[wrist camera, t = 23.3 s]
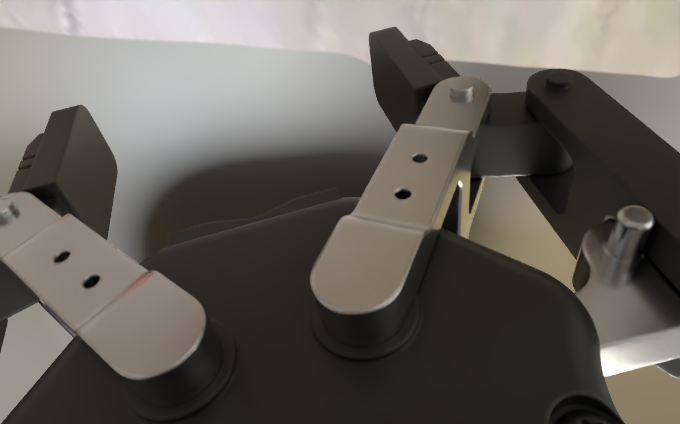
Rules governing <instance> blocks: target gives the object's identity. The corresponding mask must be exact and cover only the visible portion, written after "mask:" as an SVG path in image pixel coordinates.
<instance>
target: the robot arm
mask: <svg viewBox="0 0 680 424" xmlns="http://www.w3.org/2000/svg"><path fill="white" fill-rule="evenodd" d="M369 47H370V56H371V65H372V74H373V83H374V89H375V93H376V97H377V100H378V102H379V105H380V106H381V108H382V109H383V111H384V113H385V114H386V116H387V117H388V119H389V121H390V122H391V124H392V125H393V127H394V129H395V130H396V132H397V133H396V136H395V137H394V139H393V141H392V143H391V144H390V146H389V148H388V150H387V151H386V153H385V155H384V157H383V159H382V161H381V162H380V164H379V166H378V168H377V170H376V171H375V173H374V176H373V177H372V179H371V180H370V182H369V184H368V186H367V188H366V189H365V191H364V193H363V195H362V197H361V198H357V197H355V198H352V197H350V198H349V197H347V198H341V197H340V195H339V192H338V190H337V188H336V187H334V188H330V189H327V190H323V191H319V192H316V193H312V194H309V195H305V196H301V197H298V198H295V199H293V200H290V201H288V202H286V203H284V204H282V205H280V206H278V207H276V208H274V209H271V210H269V211H267V212H265V213H263V214H261V215H259V216H256V217H252V218H243V219H233V220H224V221H223V220H222V221H212V222H207V223H203V224H200V225H196V226H192V227H189V228H185V229H181V230H178V231H174V232H171V233H168V234H167V247H165V248H163V249H161V250H159V251H158V252H156V253H154V254H152V255H151V256H150V257H148V258H147V259H145V260H144V261H142V262H141V263H140V264H138V263H137V262H136V261H134V260H133V259H132V258H130V257H129V256H127V255H126V254H125V253H123V252H122V251H121V250H119V249H118V248H116V247H115V246H114V245H112V244H111V243H110V242H108V241H107V237H108V231H109V224H110V218H111V211H112V205H113V198H114V191H115V186H116V178H117V165H116V161H115V158H114V155H113V153H112V151H111V149H110V148H109V146H108V144H107V142H106V141H105V139H104V137H103V135H102V134H101V132H100V130H99V128H98V127H97V125H96V123H95V121H94V120H93V118H92V116H91V115H90V113H89V111H88V110H87V109H86V107H84V106H83V105H78V106H74V107H70V108H66V109H62V110H58V111H54V112H52V114H51V116H50V119H49V121H48V124H47V126H46V129H45V132H44V133H42V134H39V135H38V136H37V137H36V138H35V139H34V140H33V141H32V142H31V143H30V144H29V145H28V146H27V148H26V151H25V153H24V156H23V161H21V163H20V165H19V168H18V169H19V170H18V171H17V172H16V175H15V178H14V180H13V182H12V185H11V187H10V189H9V192H8V194H6V195H3V196H0V352H1V347H2V344H3V339H4V336H5V331H6V327H7V322H8V317H10V316H12V315H14V314H16V313H18V312H20V311H22V310H24V309H26V308H27V307H29V306H31V305H33V304H35V303H37V302H39V303H40V304H41V305H42V307H43V308H44V309H45V310H46V311H47V312H48V313H49V314H50V315H52V316H53V317H54V319H55V320H56V321H57V322H58V323H60V324H61V325H62V327H64V329H66V331H67V332H69V334H71V335H72V337H73V338H74V339H73V340H72V341H71V342H70V343H69V344H68V346H67V347H66V348H65V349H64V350H63V351H62V353H61V354H60V355H59V356H58V357H57V359H56V360H55V361H54V362H53V363H52V364H51V366H50V367H49V368H48V369H47V370H46V372H45V373H44V374H43V375H42V376H41V377H40V379H39V380H38V381H37V382H36V383H35V384H34V386H33V387H32V388H31V389H30V390H29V392H28V393H27V394H26V395H25V396H24V398H23V399H22V400H21V401H20V402H19V403H18V405H17V406H16V407H15V408H14V409H13V410H12V411H11V413H10V414H9V415H8V416H7V417H6V419H5V420H4V421H3V422H2V423H1V424H625V423H624V422H623V420H622V419H621V417H620V416H619V414H618V412H617V410H616V409H615V406H614V404H613V401H612V399H611V397H610V394H609V392H608V389H607V385H606V382H605V379H604V377H606V376H610V375H614V374H618V373H622V372H626V371H629V370H634V369H638V368H641V367H645V366H649V365H653V364H655V365H656V366H657V367H658V368H659V369H661V370H662V371H664V372H665V373H667V374H669V375H671V376H673V377H675V378H678V379H680V153H679V152H677V151H676V150H675V149H674V148H673V147H671V146H670V145H669V144H668V143H667V142H665V141H664V140H663V139H662V138H661V137H659V136H658V135H657V134H656V133H654V132H653V131H652V130H651V129H650V128H648V127H647V126H646V125H645V124H644V123H642V122H641V121H640V120H639V119H637V118H636V117H635V116H634V115H633V114H631V113H630V112H629V111H628V110H627V109H625V108H624V107H623V106H622V105H620V104H619V103H618V102H617V101H616V100H614V99H613V98H612V97H611V96H610V95H608V94H607V93H606V92H605V91H603V90H602V89H601V88H600V87H599V86H597V85H596V84H595V83H594V82H592V81H591V80H590V79H589V78H588V77H586V76H585V75H583V74H581V73H579V72H576V71H573V70H567V69H548V70H543V71H540V72H537V73H535V74H534V75H532V76H531V77H530V78H529V79H528V81H527V88H526V92H514V93H492V88H491V86H490V84H489V83H487V82H486V81H485V80H482V79H480V78H476V77H470V76H460V75H459V74H458V73H457V72H456V71H455V70H454V69H453V68H452V67H451V66H450V65H449V64H448V63H447V62H446V61H444V58H443V57H442V56H441V55H440V54H438V52H437V51H436V50H435V49H434V48H433V47H432V46H431V45H430V44H427V43H425V42H422V41H420V40H417V39H415V40H411V41H408V40H407V39H406V38H405V37H404V35H403V34H402V33H401V32H400V31H399V30H398V29H397V28H396V27H392V28H388V29H384V30H380V31H376V32H372V33H370V34H369ZM511 176H516V178H517V180H518V181H519V183H520V184H521V185H522V187H523V188H524V190H525V191H526V192H527V194H528V195H529V196H530V197H531V199H532V200H533V202H534V203H535V204H536V206H537V207H538V209H539V210H540V211H541V213H542V214H543V215H544V217H545V218H546V219H547V221H548V222H549V223H550V225H551V226H552V227H553V229H554V230H555V232H556V233H557V234H558V236H559V237H560V238H561V240H562V241H563V242H564V244H565V245H566V247H567V248H568V249H569V250H570V252H571V253H572V255H573V256H574V257H575V259H576V260H577V261H576V265H575V268H574V272H573V277H572V283H573V287H574V289H575V291H576V292H575V293H573V292H572V291H571V290H570V289H569V288H568V287H566V286H565V285H564V284H563V283H561V282H560V281H558V280H557V279H555V278H554V277H552V276H550V275H548V274H547V273H545V272H543V271H541V270H538V269H535V268H534V267H531V266H529V265H527V264H524V263H522V262H520V261H518V260H515V259H513V258H511V257H508V256H506V255H504V254H501V253H499V252H497V251H494V250H492V249H490V248H488V247H485V246H483V245H481V244H478V243H476V242H474V241H471V240H469V239H468V235H469V230H470V226H471V223H472V220H473V217H474V214H475V211H476V208H477V204H478V201H479V198H480V195H481V192H482V189H483V186H484V183H485V178H487V177H511Z"/></svg>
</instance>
